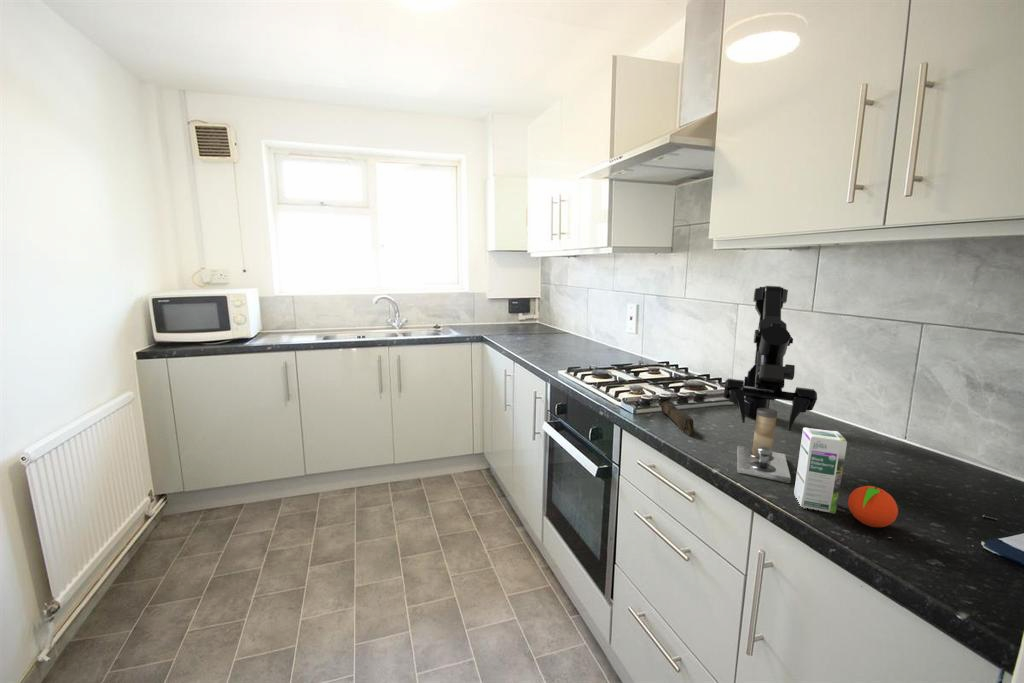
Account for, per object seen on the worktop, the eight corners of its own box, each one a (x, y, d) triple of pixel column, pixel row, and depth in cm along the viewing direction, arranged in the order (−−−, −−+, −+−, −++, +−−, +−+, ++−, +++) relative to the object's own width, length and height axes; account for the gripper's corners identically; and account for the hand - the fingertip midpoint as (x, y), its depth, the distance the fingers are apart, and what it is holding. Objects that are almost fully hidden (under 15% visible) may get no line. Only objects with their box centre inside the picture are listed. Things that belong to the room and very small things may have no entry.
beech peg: (756, 450, 107) (762, 406, 105) (774, 456, 104) (780, 411, 102) (748, 454, 105) (753, 409, 103) (766, 460, 101) (772, 414, 99)
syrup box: (800, 508, 84) (811, 436, 82) (792, 493, 90) (803, 425, 87) (835, 514, 82) (848, 441, 80) (826, 499, 88) (837, 429, 85)
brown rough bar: (660, 413, 137) (661, 398, 136) (673, 413, 136) (674, 399, 136) (680, 437, 118) (681, 420, 117) (695, 437, 118) (697, 421, 117)
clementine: (883, 542, 74) (891, 503, 73) (835, 522, 80) (842, 485, 79) (900, 527, 79) (907, 490, 78) (854, 509, 84) (860, 474, 83)
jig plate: (737, 449, 110) (739, 429, 109) (784, 458, 106) (787, 437, 105) (737, 472, 98) (740, 449, 97) (789, 483, 94) (793, 459, 93)
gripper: (729, 346, 107) (723, 402, 100) (822, 355, 99) (823, 417, 91) (726, 370, 116) (720, 424, 108) (811, 381, 107) (811, 439, 100)
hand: (766, 426), depth 102 cm, fingers open, 9 cm apart
